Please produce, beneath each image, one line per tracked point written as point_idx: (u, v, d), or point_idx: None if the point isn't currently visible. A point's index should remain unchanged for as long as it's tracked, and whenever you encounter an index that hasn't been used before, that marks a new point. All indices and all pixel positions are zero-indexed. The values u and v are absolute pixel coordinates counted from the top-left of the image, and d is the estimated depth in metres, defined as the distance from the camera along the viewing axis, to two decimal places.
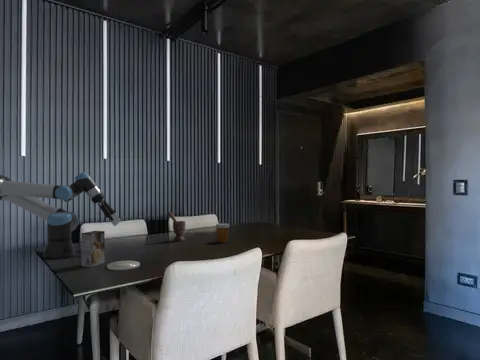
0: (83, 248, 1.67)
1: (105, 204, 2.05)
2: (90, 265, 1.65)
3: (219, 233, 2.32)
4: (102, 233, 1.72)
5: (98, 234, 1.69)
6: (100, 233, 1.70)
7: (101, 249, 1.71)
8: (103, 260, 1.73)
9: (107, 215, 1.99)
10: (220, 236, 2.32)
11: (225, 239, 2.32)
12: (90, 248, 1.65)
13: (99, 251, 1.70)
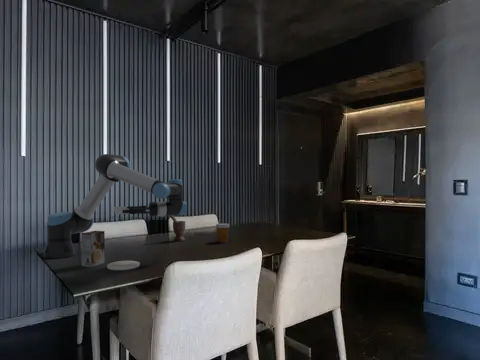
0: (83, 248, 1.67)
1: None
2: (90, 265, 1.65)
3: (219, 233, 2.32)
4: (102, 233, 1.72)
5: (98, 234, 1.69)
6: (100, 233, 1.70)
7: (101, 249, 1.71)
8: (103, 260, 1.73)
9: (131, 211, 1.68)
10: (220, 236, 2.32)
11: (225, 239, 2.32)
12: (90, 248, 1.65)
13: (99, 251, 1.70)
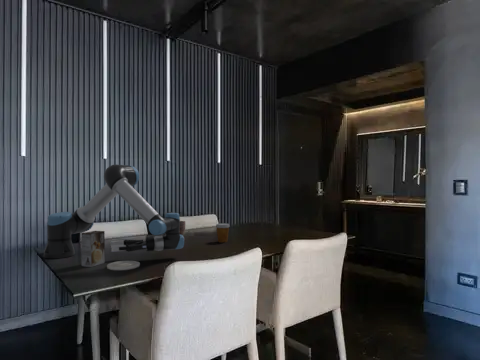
0: (83, 248, 1.67)
1: None
2: (90, 265, 1.65)
3: (219, 233, 2.32)
4: (102, 233, 1.72)
5: (98, 234, 1.69)
6: (100, 233, 1.70)
7: (101, 249, 1.71)
8: (103, 260, 1.73)
9: (128, 248, 1.67)
10: (220, 236, 2.32)
11: (225, 239, 2.32)
12: (90, 248, 1.65)
13: (99, 251, 1.70)
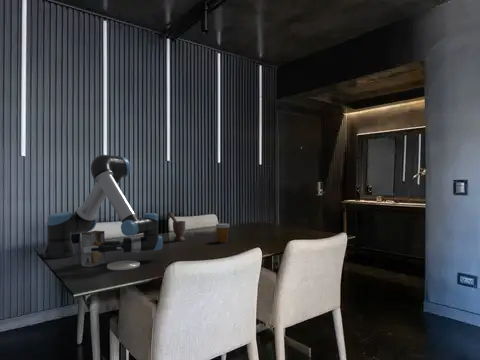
0: (83, 248, 1.67)
1: None
2: (90, 265, 1.65)
3: (219, 233, 2.32)
4: (102, 233, 1.72)
5: (98, 234, 1.69)
6: (100, 233, 1.71)
7: None
8: (103, 260, 1.73)
9: (100, 249, 1.64)
10: (220, 236, 2.32)
11: (225, 239, 2.32)
12: None
13: None
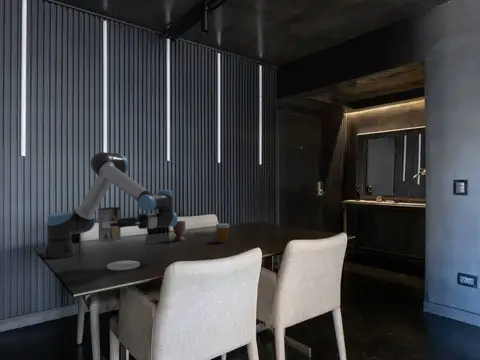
0: (100, 224, 1.63)
1: None
2: (109, 241, 1.63)
3: (219, 233, 2.32)
4: (118, 209, 1.70)
5: (115, 209, 1.67)
6: (117, 209, 1.68)
7: None
8: (119, 236, 1.70)
9: (120, 224, 1.62)
10: (220, 236, 2.32)
11: (225, 239, 2.32)
12: None
13: (116, 227, 1.67)
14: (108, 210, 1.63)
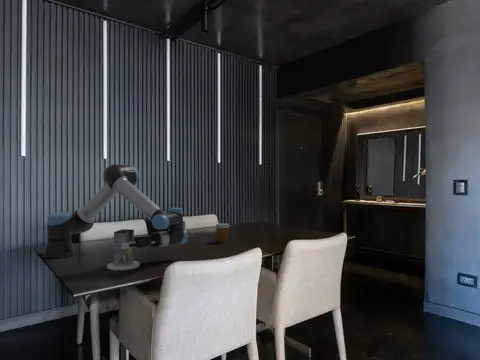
0: (116, 247, 1.62)
1: None
2: (124, 264, 1.62)
3: (219, 233, 2.32)
4: (132, 231, 1.69)
5: (130, 232, 1.67)
6: (131, 231, 1.68)
7: None
8: (133, 259, 1.70)
9: (139, 244, 1.61)
10: (220, 236, 2.32)
11: (225, 239, 2.32)
12: None
13: (130, 250, 1.67)
14: (124, 233, 1.62)
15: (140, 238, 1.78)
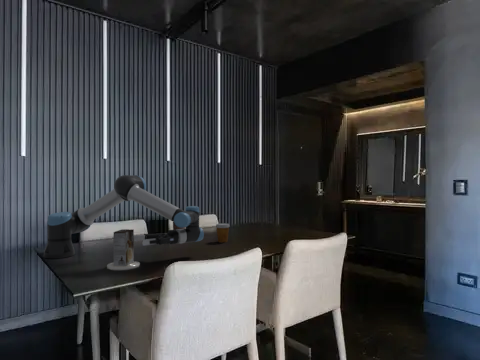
0: (116, 247, 1.62)
1: None
2: (124, 264, 1.62)
3: (219, 233, 2.32)
4: (132, 231, 1.69)
5: (130, 232, 1.67)
6: (131, 231, 1.68)
7: (132, 247, 1.69)
8: (133, 259, 1.70)
9: (160, 241, 1.68)
10: (220, 236, 2.32)
11: (225, 239, 2.32)
12: (124, 247, 1.62)
13: (130, 250, 1.67)
14: (124, 233, 1.62)
15: (158, 235, 1.84)
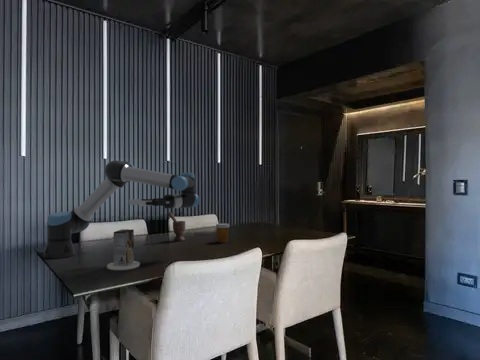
0: (116, 247, 1.62)
1: (161, 205, 1.82)
2: (124, 264, 1.62)
3: (219, 233, 2.32)
4: (132, 231, 1.69)
5: (130, 232, 1.67)
6: (131, 231, 1.68)
7: (132, 247, 1.69)
8: (133, 259, 1.70)
9: (156, 203, 1.73)
10: (220, 236, 2.32)
11: (225, 239, 2.32)
12: (124, 247, 1.62)
13: (130, 250, 1.67)
14: (124, 233, 1.62)
15: None
